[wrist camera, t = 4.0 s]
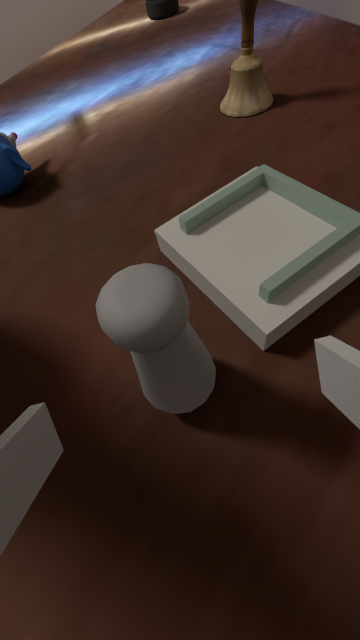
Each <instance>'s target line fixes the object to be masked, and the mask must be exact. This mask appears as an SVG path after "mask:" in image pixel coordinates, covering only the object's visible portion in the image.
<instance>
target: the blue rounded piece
mask: <svg viewBox="0 0 360 640" xmlns="http://www.w3.org/2000/svg"><path fill="white" fill-rule="evenodd" d="M16 139H17V134H16V133H14V132H12V133H11V134H10V135H9V136H7V135H5V134H4V133H1V132H0V196H2V195H6V194H9V193H11V192H13V191H14V190H16V189H17V188H18V187H19V186H20V184H21V182H22V180H23V177H24V170H27V171H30V170H31V166H30V165H29V164H28V163H26V162H25V161H24V160H23V159H22V158H21V156H20V154H19V152H18V150H17V149H16V142H15V141H16Z"/></svg>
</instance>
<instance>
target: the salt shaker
mask: <svg viewBox="0 0 360 640" xmlns="http://www.w3.org/2000/svg"><path fill="white" fill-rule="evenodd" d="M189 308H190V305H189V300H188V297H187V294H186V291H185V289H184V286H183V283H182V282H181V280H180V278H179V277H178V276H177V275H176V274H175V273H173V272H172V271H171V270H169V269H168V268H167V267H165V266H160V265H155V264H150V263H144V264H139V265H133V266H129V267H127V268H125V269H123V270H121V271H120V272H118V273H116V274H114V275H113V276H112V278H111V279H110V280H109V281H108V282H107V283H106V284H105V285H104V287H103V288H102V289H101V291H100V294H99V297H98V300H97V302H96V311H97V316H98V321H99V324H100V326H101V328H102V330H103V331H104V332H105V333H106V334H107V335H108V337H109V338H110V339H111V340H112V341H113V342H114V343H115V344H116V345H117V346H118V347H119V348H122V349H126V350H129V351H130V352H131V355H132V358H133V361H134V364H135V367H136V370H137V373H138V377H139V380H140V384H141V387H142V391H143V394H144V396H145V397H146V398H147V399H148V401H149V402H150V403H151V404H152V405H153V407H154V408H157V409H160V410H162V411H165V412H168V413H171V414H178V413H188V412H191V411H193V410H194V409H196V408H197V407H199V406H200V405H202V404H203V403H205V402H206V400H207V398H208V397H209V395H210V394H211V392H212V390H213V389H214V386H215V375H216V367H215V365H214V362H213V360H212V357H211V355H210V353H209V351H208V350H207V349H206V347H205V346H204V344H203V343H202V341H201V340H200V338H199V337H198V335H197V334H196V332H195V331H194V330H193V328H192V327H191V325H190V324H189V322H188V314H189Z"/></svg>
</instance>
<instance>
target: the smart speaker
mask: <svg viewBox="0 0 360 640" xmlns="http://www.w3.org/2000/svg"><path fill="white" fill-rule="evenodd" d="M146 8H147V14H148V17H149V18H150V19H153V20H159V19H164V18H167V17H170V16H172V15H174V14H175V13H176V12H177V11H178V9H179V4H178V0H146Z"/></svg>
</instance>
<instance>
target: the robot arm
mask: <svg viewBox="0 0 360 640" xmlns="http://www.w3.org/2000/svg"><path fill="white" fill-rule="evenodd" d="M314 343H315V350H316V356H317V363H318V370H319V376H320V383H321V390H322V393H323V394H324V395H325V396H326V397H327V398H328V399H329V400H330V401H331V402H332V403H333V404H334V405H335V406H336V407H337V408H338V409H339V410H340V411H341V412H342V413H343V414H344V415H345V416H346V417H347V418H348V419H350V420H351V421H352V422H353V423H354V424H355V425H356V426H357V427H358V428H359V429H360V351H359V350H357V349H355V348H353V347H351V346H349V345H347V344H345V343H344V342H342V341H340V340H338V339H336V338H334V337H332V336H327V337H323V338H318V339H314ZM63 451H64V450H63V447H62V444H61V442H60V439H59V437H58V434H57V432H56V429H55V427H54V424H53V422H52V419H51V417H50V414H49V412H48V409H47V407H46V404H45V402H44V403H40V404H36V405H31V406H29V407H28V408H27V409H26V410H25V411H24V412H23V413H22V414H21V415H20V416H19V417H18V418H17V419H16V420H15V421H14V422H13V423H12V424H11V425H10V426H9V427H8V428H7V429H6V430H5V431H4V432H3V433H2V434H1V435H0V556H1V554H2V553H3V551H4V549H5V548H6V546H7V544H8V543H9V541H10V539H11V538H12V536H13V534H14V533H15V531H16V529H17V528H18V526H19V524H20V523H21V521H22V519H23V518H24V516H25V514H26V513H27V511H28V509H29V507H30V506H31V504H32V502H33V501H34V499H35V497H36V496H37V494H38V492H39V491H40V489H41V487H42V486H43V484H44V482H45V481H46V479H47V477H48V476H49V474H50V472H51V471H52V469H53V467H54V466H55V464H56V462H57V461H58V459H59V457H60V456H61V454H62V452H63Z"/></svg>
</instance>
